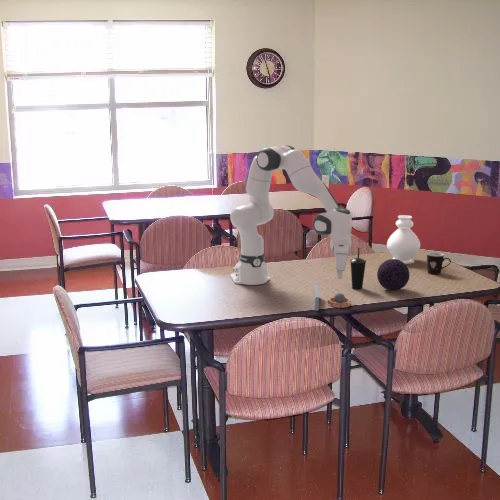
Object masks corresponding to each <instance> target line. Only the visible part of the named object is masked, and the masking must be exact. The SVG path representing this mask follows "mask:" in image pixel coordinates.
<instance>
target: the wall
mask: <svg viewBox="0 0 500 500" xmlns="http://www.w3.org/2000/svg"><path fill="white" fill-rule="evenodd" d="M319 287H320V285H319V284H317V283H315V286H314V311H315V312H317V311H319V299H320V298H319V296H320V295H319V293H320V291H319V289H320V288H319Z"/></svg>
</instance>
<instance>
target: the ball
mask: <svg viewBox="0 0 500 500" xmlns="http://www.w3.org/2000/svg"><path fill="white" fill-rule="evenodd" d="M333 297H334V301H335V302H337V303H343V302H344V301H345V297H346V296H345V295H344V294H343V293H342V292H341V293H340V292H337V293H336V294H334V296H333Z"/></svg>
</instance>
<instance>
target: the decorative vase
mask: <svg viewBox="0 0 500 500" xmlns="http://www.w3.org/2000/svg"><path fill="white" fill-rule="evenodd" d="M397 218H398V220H396V221H395V225H396V227H397V229H396V230H395V231H394V232H392V233H391V235H390V236H389V238H388V239H387V242H386V247H387V249H388V251H389V253H390V254H391V256H392V258H391V259H398V260H400V261H402V262H403V263H405V264H406V265H409V264H414V263H415V259H413V258H414V257H415V256H416V255H417V253H418V252H419V251H420V248H421V242H420V241H421V240H420V238H418V236H417V234H416V233H415V232H413V230H412V229H411V228H413V226H414V222H413V221H412V218H413V216H411V215H408V214H407V215H406V214H405V215H404V214H399V215H398V216H397Z"/></svg>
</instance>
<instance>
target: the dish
mask: <svg viewBox="0 0 500 500" xmlns="http://www.w3.org/2000/svg"><path fill="white" fill-rule="evenodd" d="M351 303H352V300H351V299H350V298H348V297H346V296H345V301H344V302H343V303H337V302H335V301H334V296H332V297H329V298H328V299H327V305H328V306H330V307H332V308H338V309H339V308H341V309H342V308H349V307H350V306H351Z"/></svg>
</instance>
